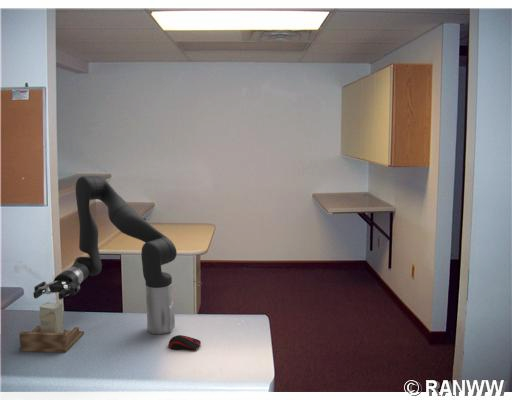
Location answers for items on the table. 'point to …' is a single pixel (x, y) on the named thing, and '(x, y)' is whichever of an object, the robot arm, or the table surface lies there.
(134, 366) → the table surface
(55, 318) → the skincare box
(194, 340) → the computer mouse
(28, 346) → the tray
